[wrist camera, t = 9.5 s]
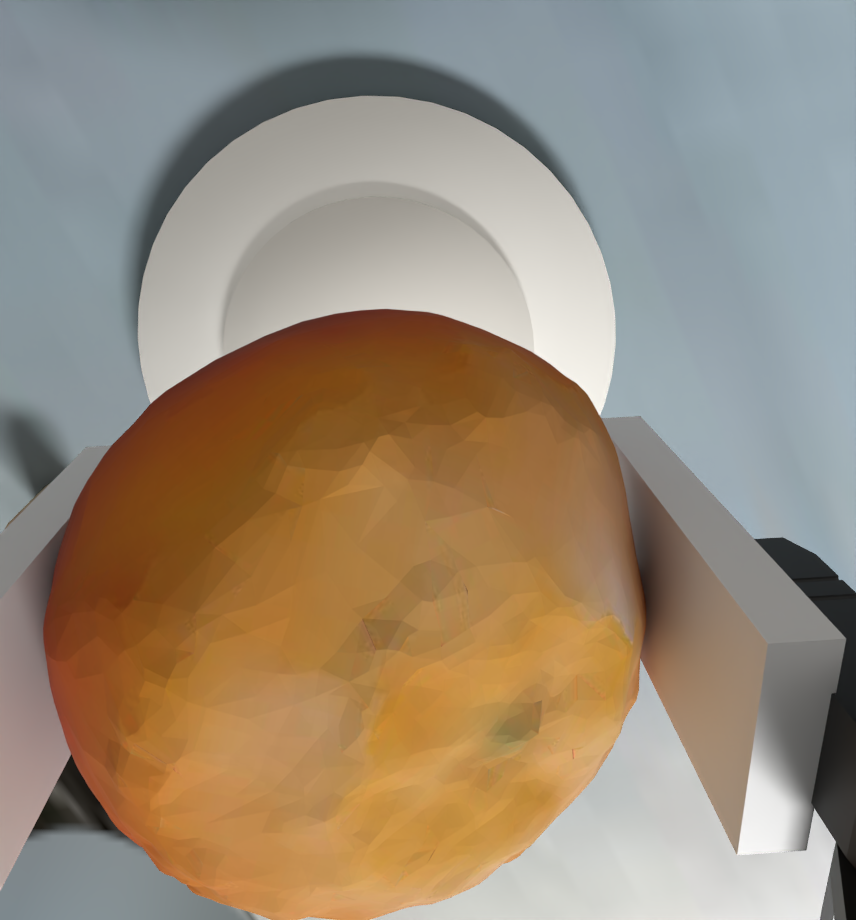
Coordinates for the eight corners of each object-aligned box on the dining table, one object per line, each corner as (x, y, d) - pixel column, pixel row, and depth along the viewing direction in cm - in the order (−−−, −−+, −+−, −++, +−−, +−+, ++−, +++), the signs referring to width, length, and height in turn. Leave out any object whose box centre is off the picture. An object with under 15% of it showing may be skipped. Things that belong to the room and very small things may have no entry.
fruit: (-49, 260, 11) (79, 461, 5) (429, 253, 15) (819, 353, 9) (24, 730, 14) (160, 1225, 8) (404, 612, 18) (685, 870, 12)
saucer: (187, 561, 27) (176, 583, 25) (105, 108, 21) (87, 106, 20) (597, 537, 27) (608, 557, 26) (618, 86, 22) (632, 83, 20)
